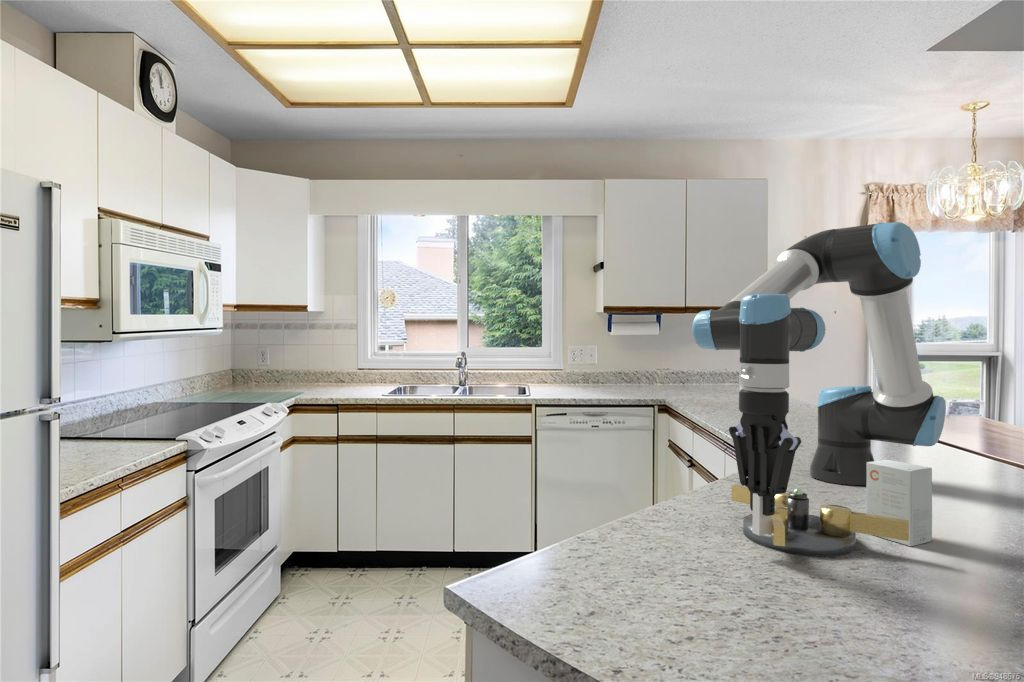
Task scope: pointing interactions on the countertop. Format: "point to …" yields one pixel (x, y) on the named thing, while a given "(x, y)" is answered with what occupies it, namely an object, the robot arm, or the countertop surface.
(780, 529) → the knob
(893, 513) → the small box
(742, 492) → the knob
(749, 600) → the countertop surface
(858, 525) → the knob
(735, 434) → the robot arm
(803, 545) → the tribrach plate
